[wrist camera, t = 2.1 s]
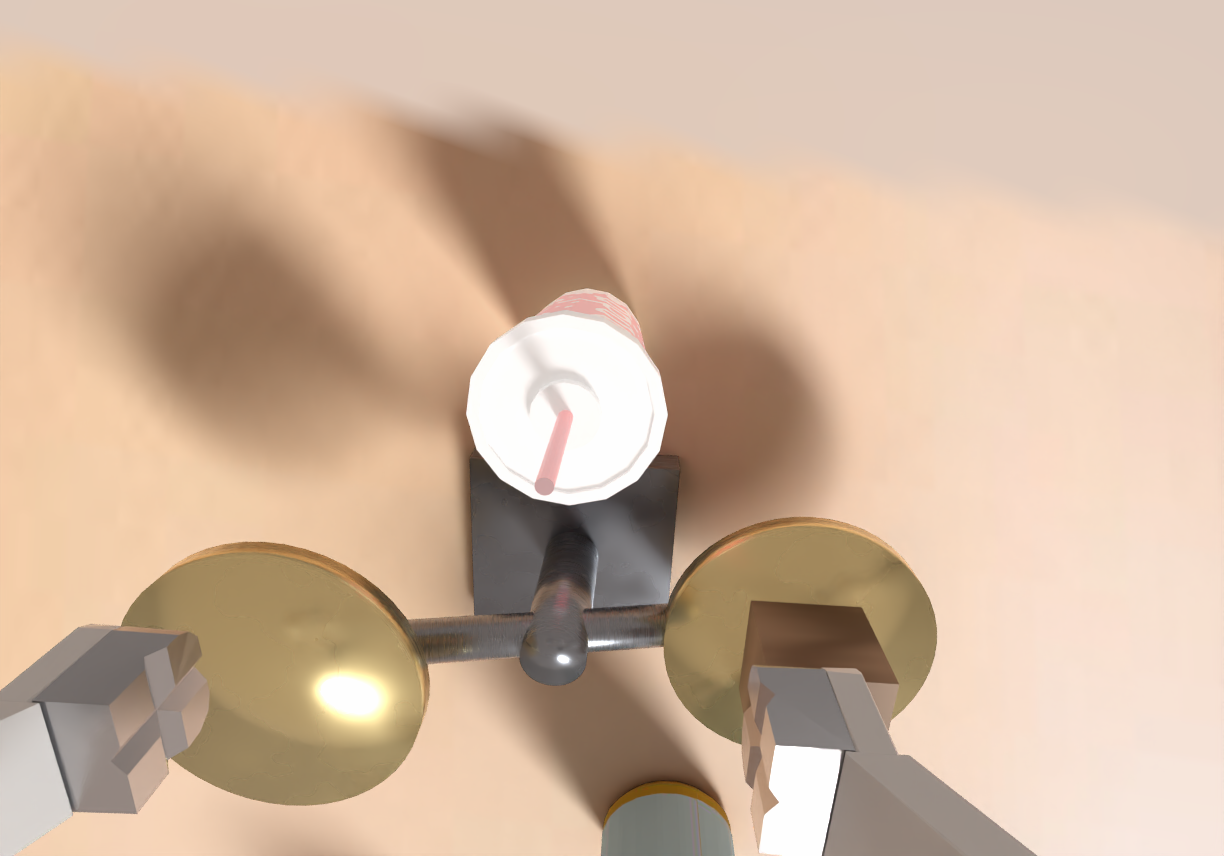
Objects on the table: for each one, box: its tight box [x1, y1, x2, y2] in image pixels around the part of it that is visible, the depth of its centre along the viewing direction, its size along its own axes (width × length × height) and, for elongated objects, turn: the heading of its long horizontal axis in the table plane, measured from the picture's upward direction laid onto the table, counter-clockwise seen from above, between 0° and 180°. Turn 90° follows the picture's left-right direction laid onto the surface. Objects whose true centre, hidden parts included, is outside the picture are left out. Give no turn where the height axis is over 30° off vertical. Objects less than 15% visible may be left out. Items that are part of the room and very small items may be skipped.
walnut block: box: [739, 600, 899, 730], centre depth 24 cm, size 4×4×4 cm
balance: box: [121, 448, 937, 806], centre depth 28 cm, size 28×10×11 cm, turn 88°
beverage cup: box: [466, 288, 668, 505], centre depth 23 cm, size 6×6×14 cm
